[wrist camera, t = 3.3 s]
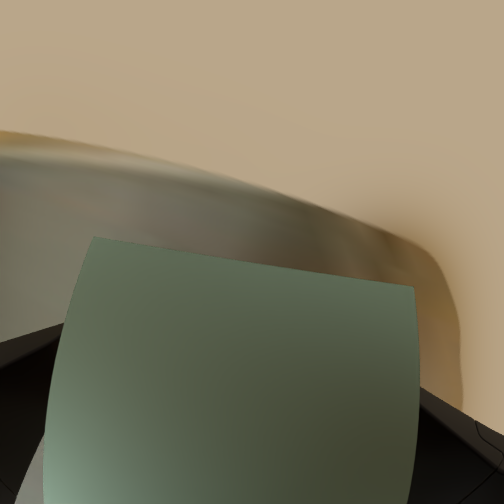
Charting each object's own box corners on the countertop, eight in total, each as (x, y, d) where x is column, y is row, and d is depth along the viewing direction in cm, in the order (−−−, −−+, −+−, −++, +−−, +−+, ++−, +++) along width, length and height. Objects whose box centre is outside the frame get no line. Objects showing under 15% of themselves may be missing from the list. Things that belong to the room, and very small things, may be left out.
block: (253, 448, 12) (386, 570, 1) (173, 437, 11) (48, 542, 1) (262, 374, 14) (413, 286, 3) (183, 363, 13) (93, 236, 3)
